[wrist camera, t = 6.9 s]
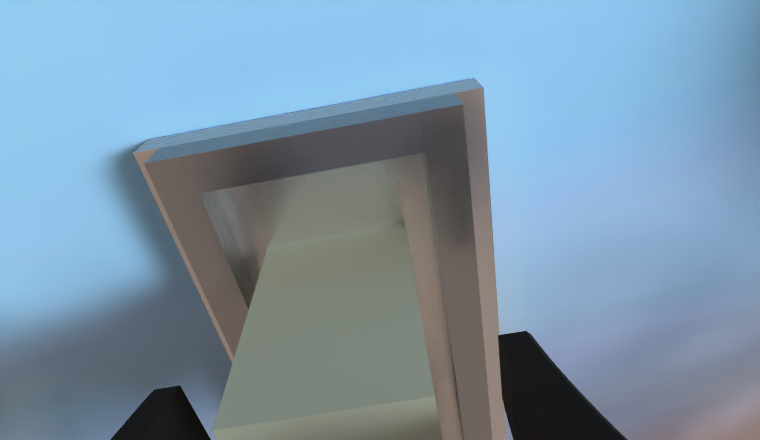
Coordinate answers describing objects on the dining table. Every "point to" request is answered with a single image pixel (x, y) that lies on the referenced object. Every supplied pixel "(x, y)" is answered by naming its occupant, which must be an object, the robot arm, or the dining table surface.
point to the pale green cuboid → (332, 346)
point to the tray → (351, 218)
